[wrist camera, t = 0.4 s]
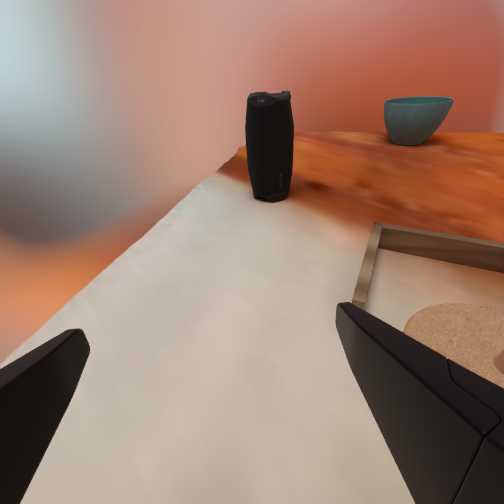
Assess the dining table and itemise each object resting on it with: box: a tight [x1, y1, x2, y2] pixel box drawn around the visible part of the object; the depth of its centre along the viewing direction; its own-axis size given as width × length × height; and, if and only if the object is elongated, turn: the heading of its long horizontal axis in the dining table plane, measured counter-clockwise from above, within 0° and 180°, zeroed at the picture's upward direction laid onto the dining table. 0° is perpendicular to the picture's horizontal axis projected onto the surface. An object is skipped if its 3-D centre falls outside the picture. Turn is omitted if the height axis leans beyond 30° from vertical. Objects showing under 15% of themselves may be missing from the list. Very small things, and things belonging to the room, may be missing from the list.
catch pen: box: [352, 222, 504, 310], centre depth 30 cm, size 17×18×4 cm
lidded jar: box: [403, 303, 504, 388], centre depth 17 cm, size 11×11×9 cm
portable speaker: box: [245, 91, 294, 202], centre depth 52 cm, size 9×9×20 cm
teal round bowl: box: [384, 97, 454, 145], centre depth 82 cm, size 18×18×12 cm
